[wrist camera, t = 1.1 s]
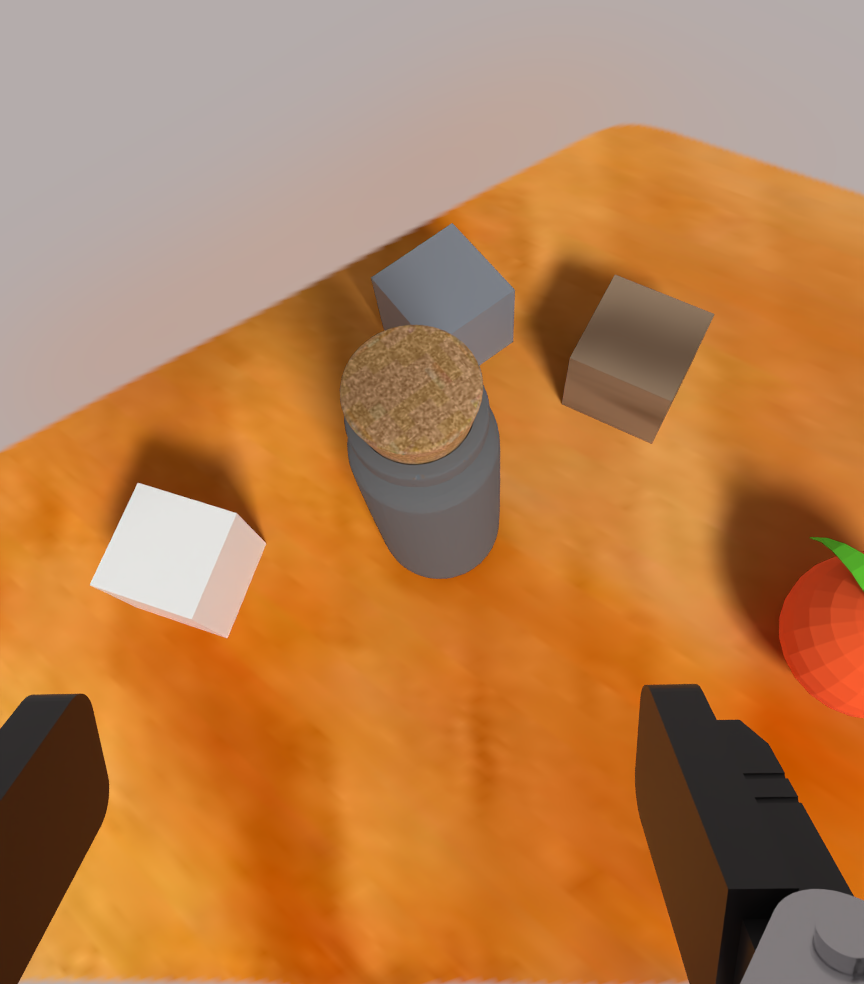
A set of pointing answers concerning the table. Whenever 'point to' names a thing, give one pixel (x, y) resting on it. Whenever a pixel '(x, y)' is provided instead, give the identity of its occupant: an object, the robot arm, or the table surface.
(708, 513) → the table surface
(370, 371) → the bottle
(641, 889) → the table surface
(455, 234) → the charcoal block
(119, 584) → the offwhite block
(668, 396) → the walnut block
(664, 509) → the table surface
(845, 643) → the peach
